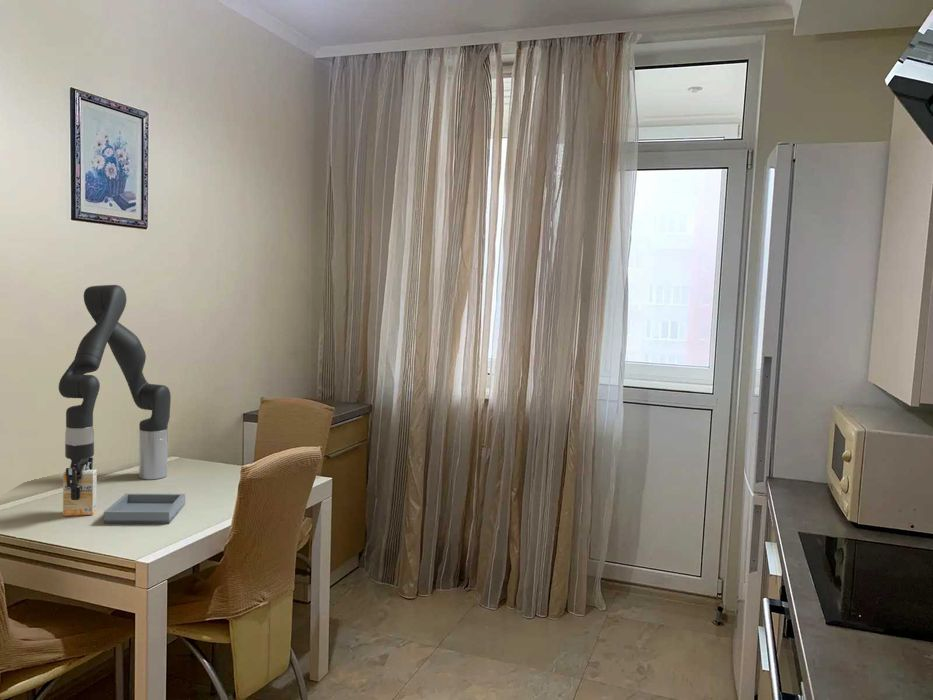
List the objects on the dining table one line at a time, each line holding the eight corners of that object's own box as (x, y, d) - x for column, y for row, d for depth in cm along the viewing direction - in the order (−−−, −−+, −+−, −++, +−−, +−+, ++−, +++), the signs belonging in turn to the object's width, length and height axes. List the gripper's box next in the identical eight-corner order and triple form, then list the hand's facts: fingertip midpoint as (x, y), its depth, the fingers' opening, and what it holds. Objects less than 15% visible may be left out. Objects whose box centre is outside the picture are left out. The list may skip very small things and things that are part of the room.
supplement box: (62, 516, 209) (62, 473, 208) (66, 511, 213) (66, 469, 212) (93, 515, 211) (93, 472, 210) (97, 510, 216) (96, 468, 214)
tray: (125, 504, 223) (125, 493, 222) (185, 504, 225) (185, 493, 225) (104, 523, 205) (104, 512, 204) (169, 523, 207) (169, 512, 207)
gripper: (76, 435, 217) (76, 489, 218) (55, 446, 203) (55, 503, 204) (102, 436, 218) (102, 489, 219) (83, 447, 204) (83, 504, 205)
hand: (79, 496), depth 212 cm, fingers open, 5 cm apart
